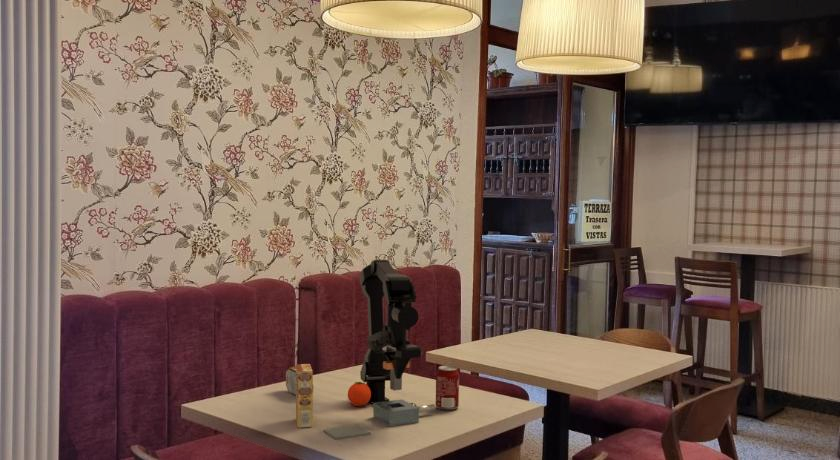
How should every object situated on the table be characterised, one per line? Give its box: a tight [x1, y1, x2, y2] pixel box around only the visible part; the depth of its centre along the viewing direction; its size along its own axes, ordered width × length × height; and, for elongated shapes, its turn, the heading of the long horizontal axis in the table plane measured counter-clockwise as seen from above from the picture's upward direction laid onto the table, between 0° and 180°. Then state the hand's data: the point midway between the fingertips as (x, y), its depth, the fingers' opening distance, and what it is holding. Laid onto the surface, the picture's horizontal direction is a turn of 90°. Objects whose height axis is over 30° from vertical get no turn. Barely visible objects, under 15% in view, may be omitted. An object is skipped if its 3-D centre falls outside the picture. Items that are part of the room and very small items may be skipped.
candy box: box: [295, 363, 314, 428], centre depth 217 cm, size 9×4×15 cm, turn 13°
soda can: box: [435, 365, 460, 411], centre depth 235 cm, size 7×7×12 cm
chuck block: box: [372, 399, 436, 427], centre depth 224 cm, size 10×17×4 cm, turn 119°
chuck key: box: [383, 360, 410, 391], centre depth 222 cm, size 2×7×8 cm, turn 119°
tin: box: [284, 365, 296, 397], centre depth 246 cm, size 15×3×8 cm, turn 34°
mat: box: [323, 423, 372, 440], centre depth 209 cm, size 8×10×1 cm
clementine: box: [347, 381, 371, 407], centre depth 236 cm, size 8×7×7 cm
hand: (396, 377), depth 222 cm, fingers closed on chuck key, 2 cm apart
